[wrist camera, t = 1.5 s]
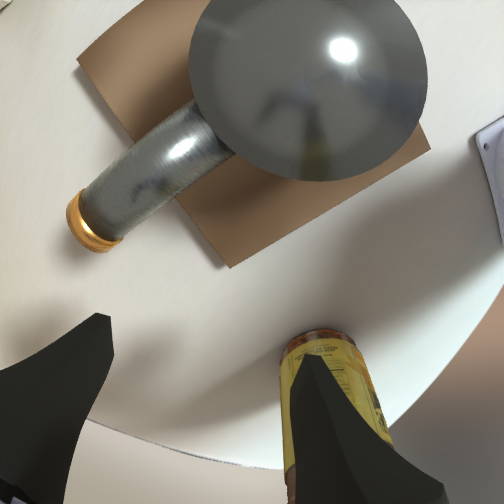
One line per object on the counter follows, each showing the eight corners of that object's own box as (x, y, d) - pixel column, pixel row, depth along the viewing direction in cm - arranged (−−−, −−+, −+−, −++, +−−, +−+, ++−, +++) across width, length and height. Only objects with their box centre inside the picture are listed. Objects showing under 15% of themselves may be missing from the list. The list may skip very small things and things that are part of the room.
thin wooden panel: (423, 146, 16) (455, 156, 13) (231, 261, 20) (225, 293, 16) (277, -65, 11) (280, -96, 8) (84, 60, 14) (50, 54, 11)
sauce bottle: (347, 380, 24) (392, 605, 6) (274, 381, 24) (278, 625, 6) (367, 319, 22) (456, 593, 4) (282, 318, 22) (301, 637, 4)
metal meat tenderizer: (327, -37, 9) (342, -66, 6) (427, 114, 12) (462, 117, 9) (58, 149, 13) (22, 160, 10) (156, 278, 16) (138, 311, 13)
